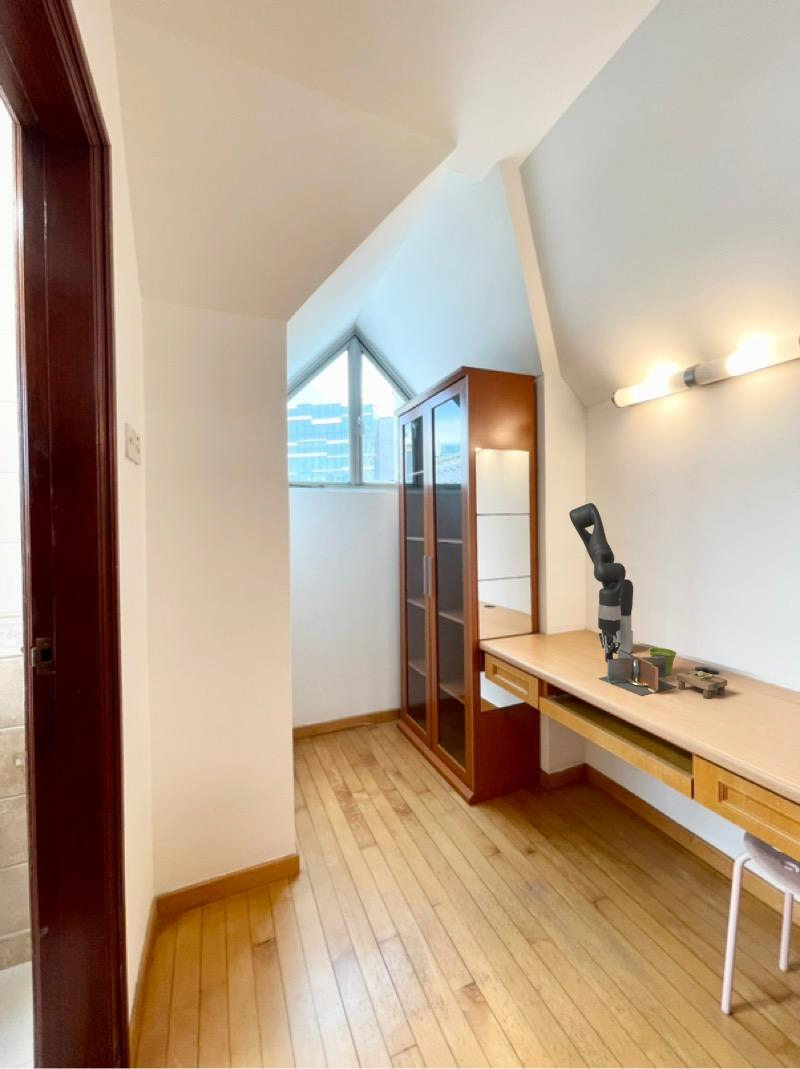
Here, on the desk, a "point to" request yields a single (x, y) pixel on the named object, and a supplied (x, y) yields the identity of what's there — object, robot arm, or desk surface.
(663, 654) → the plant pot
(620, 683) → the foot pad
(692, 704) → the desk surface
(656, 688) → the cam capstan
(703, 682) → the level stand
